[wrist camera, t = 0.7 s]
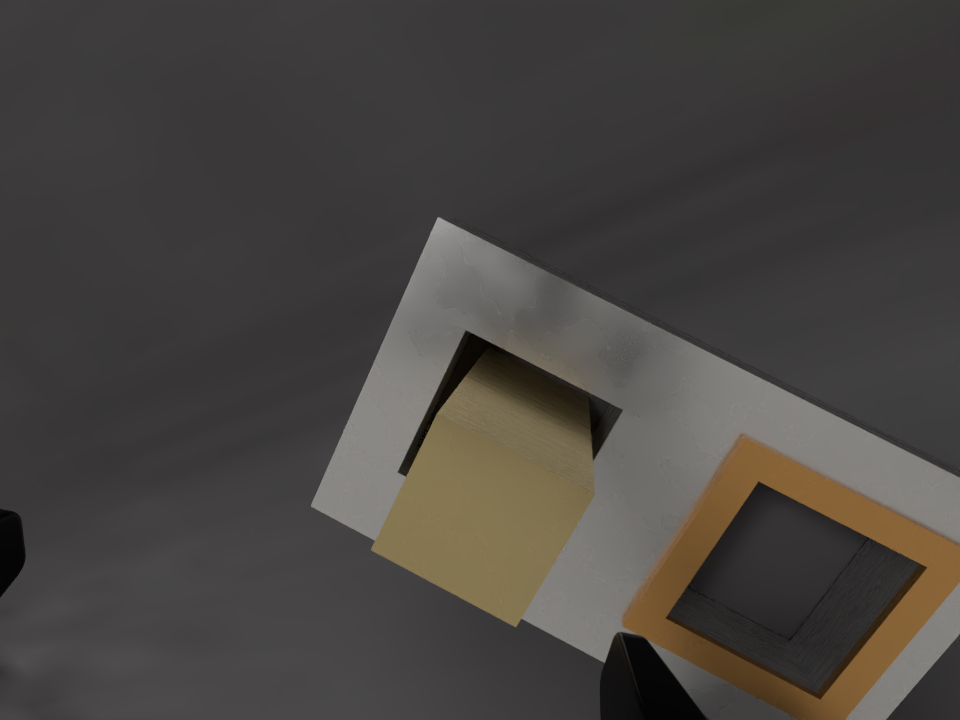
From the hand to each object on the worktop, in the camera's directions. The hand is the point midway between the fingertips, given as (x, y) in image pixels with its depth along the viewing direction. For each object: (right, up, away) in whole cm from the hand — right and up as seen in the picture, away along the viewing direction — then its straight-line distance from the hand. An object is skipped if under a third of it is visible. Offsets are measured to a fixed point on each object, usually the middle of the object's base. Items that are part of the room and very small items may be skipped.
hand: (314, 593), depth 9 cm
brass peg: (+4, +1, +13) cm, 13 cm away
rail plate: (+8, -1, +13) cm, 15 cm away
